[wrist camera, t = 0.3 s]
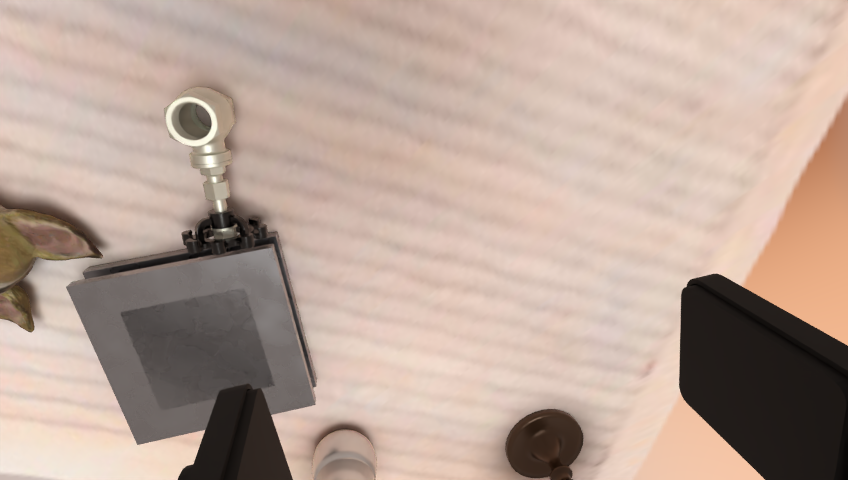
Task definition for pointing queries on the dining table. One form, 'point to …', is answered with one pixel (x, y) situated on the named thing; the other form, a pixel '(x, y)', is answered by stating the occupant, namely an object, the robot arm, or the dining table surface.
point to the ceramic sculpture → (33, 255)
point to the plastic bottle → (344, 457)
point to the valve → (211, 169)
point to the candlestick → (545, 445)
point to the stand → (195, 334)
